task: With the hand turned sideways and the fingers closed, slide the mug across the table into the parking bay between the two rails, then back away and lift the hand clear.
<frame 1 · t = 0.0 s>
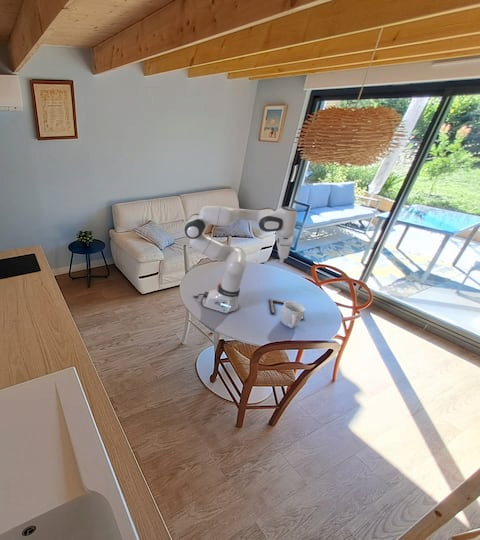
hand: (280, 258, 163), 39 cm above the table, tool pointing down, fingers open, 8 cm apart
mug: (288, 325, 171), on the table
bay rails: (285, 310, 183), on the table
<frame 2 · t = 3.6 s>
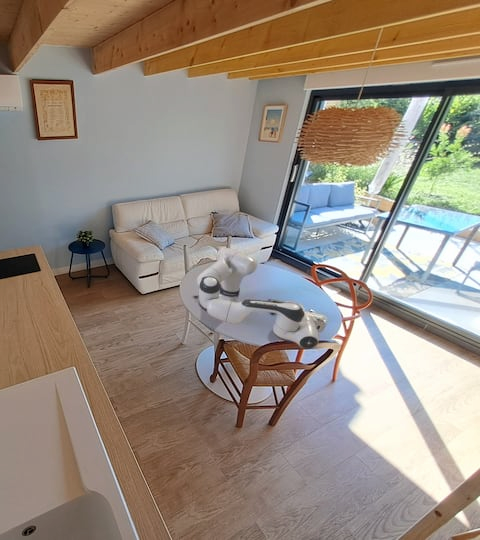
hand: (301, 308, 150), 22 cm above the table, tool horizontal, fingers open, 8 cm apart
nothing on the table moved.
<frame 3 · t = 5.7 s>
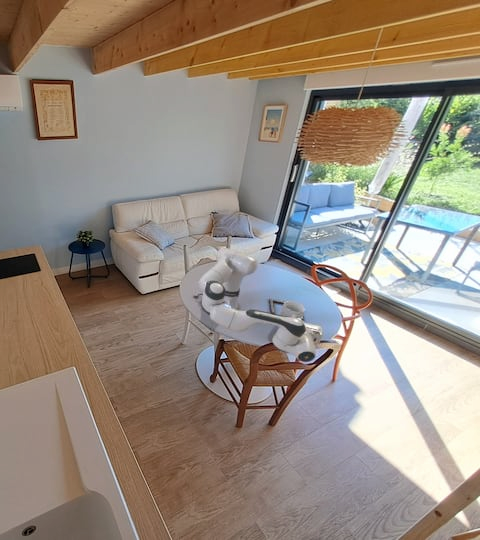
hand: (297, 318, 156), 13 cm above the table, tool horizontal, fingers closed
nothing on the table moved.
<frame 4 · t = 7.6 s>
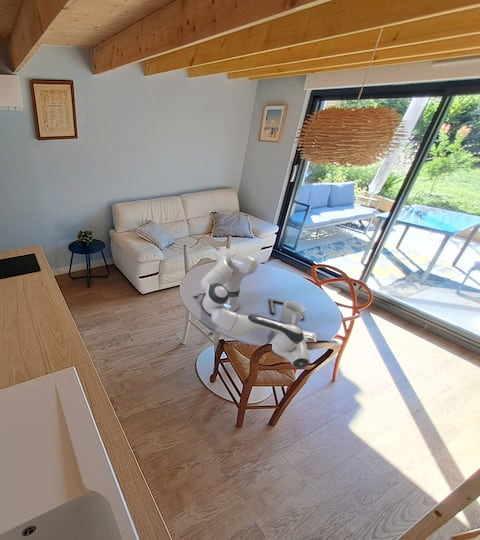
hand: (293, 325, 161), 6 cm above the table, tool horizontal, fingers closed, pressing on mug
mug: (288, 325, 171), on the table, touching gripper
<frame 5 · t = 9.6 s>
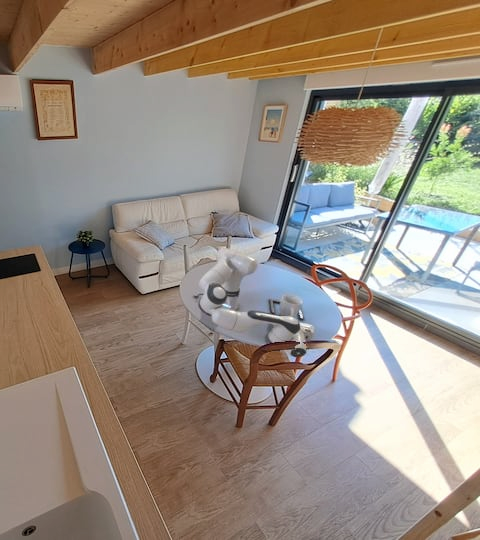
hand: (291, 318, 168), 6 cm above the table, tool horizontal, fingers closed, pressing on mug
mug: (286, 317, 177), on the table, touching gripper
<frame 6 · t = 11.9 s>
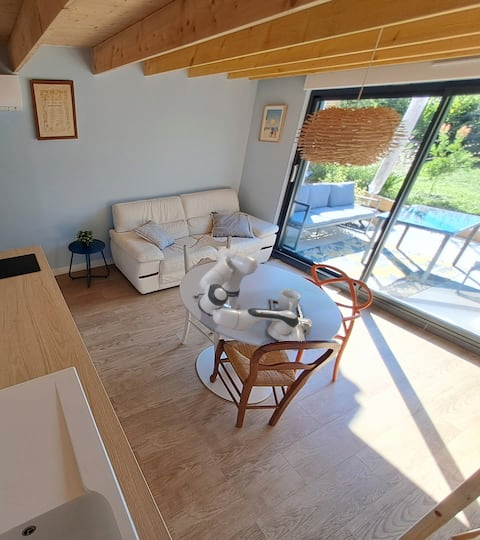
hand: (289, 313, 172), 5 cm above the table, tool horizontal, fingers closed
mug: (285, 311, 182), on the table
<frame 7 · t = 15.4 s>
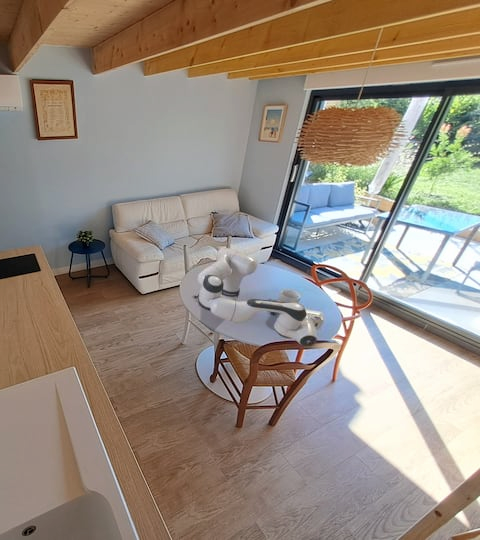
hand: (298, 305, 157), 19 cm above the table, tool horizontal, fingers closed
nothing on the table moved.
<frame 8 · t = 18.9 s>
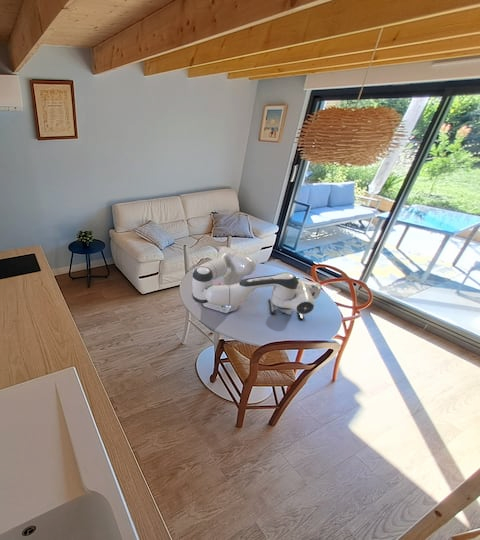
hand: (296, 277, 157), 32 cm above the table, tool horizontal, fingers closed
nothing on the table moved.
at the end: mug inside the target area (1.1 cm from its centre), on the table; mug tilted 0°; the gripper is holding nothing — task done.
